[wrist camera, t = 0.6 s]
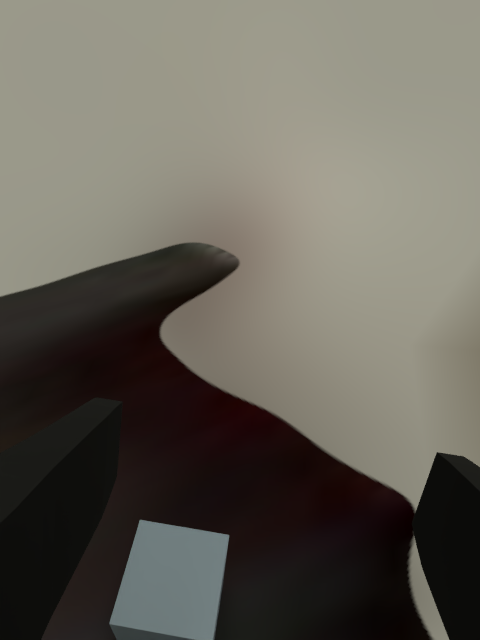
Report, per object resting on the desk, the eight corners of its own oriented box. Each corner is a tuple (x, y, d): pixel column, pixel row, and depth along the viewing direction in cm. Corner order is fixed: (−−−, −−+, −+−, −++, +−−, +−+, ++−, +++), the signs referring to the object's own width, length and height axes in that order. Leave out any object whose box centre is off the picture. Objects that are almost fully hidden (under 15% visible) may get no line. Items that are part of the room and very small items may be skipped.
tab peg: (208, 677, 22) (212, 642, 17) (127, 662, 22) (109, 623, 18) (222, 586, 25) (229, 535, 20) (150, 573, 25) (140, 519, 20)
